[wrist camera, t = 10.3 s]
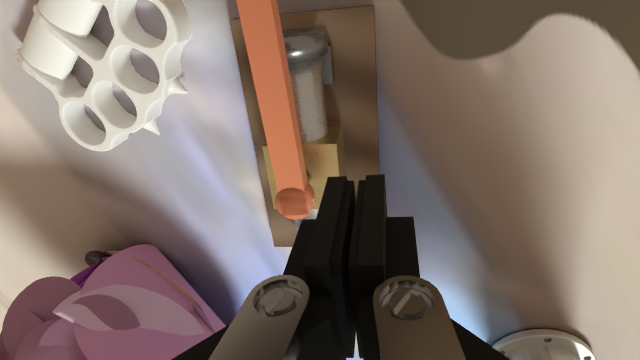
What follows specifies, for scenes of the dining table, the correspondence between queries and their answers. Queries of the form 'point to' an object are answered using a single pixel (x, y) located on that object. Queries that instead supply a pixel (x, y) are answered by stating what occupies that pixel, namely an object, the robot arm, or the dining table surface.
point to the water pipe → (312, 111)
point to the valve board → (327, 96)
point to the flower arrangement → (109, 312)
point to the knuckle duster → (104, 65)
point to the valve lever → (276, 105)
